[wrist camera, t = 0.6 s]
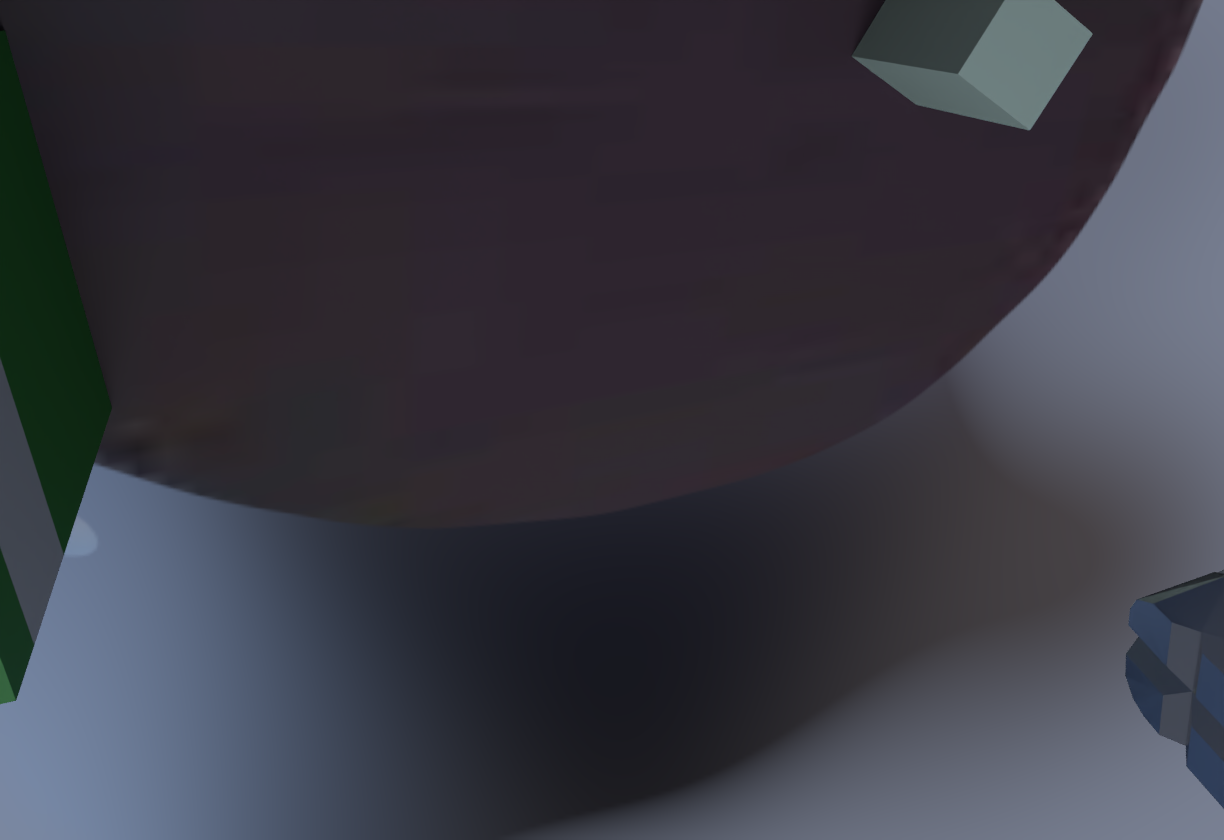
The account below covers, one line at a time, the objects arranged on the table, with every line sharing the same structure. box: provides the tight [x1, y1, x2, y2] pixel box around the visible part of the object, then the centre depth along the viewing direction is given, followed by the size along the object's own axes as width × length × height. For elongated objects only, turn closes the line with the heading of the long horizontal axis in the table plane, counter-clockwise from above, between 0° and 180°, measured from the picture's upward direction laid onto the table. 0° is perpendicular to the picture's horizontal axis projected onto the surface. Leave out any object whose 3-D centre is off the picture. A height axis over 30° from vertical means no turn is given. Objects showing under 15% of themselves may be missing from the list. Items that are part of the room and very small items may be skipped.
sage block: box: [852, 0, 1092, 130], centre depth 54 cm, size 5×5×10 cm
